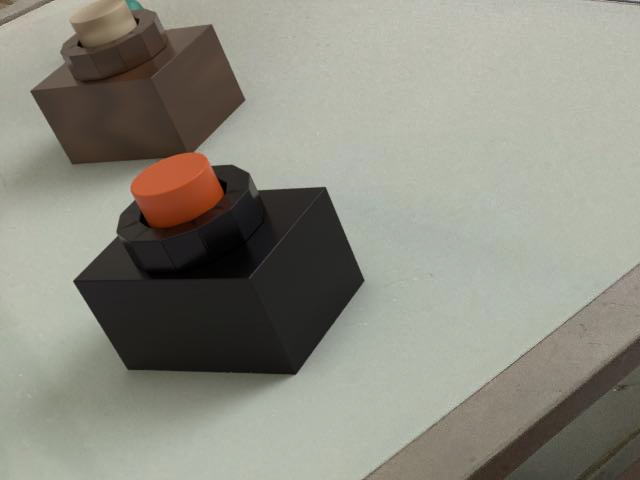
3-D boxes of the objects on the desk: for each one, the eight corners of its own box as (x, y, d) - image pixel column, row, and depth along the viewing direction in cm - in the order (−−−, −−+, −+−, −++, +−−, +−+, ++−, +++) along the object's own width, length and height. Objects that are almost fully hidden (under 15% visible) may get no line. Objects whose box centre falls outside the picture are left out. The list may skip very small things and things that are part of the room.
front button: (133, 232, 57) (113, 197, 55) (176, 188, 59) (158, 154, 58) (197, 230, 55) (179, 194, 54) (239, 185, 58) (222, 149, 56)
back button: (72, 53, 80) (57, 25, 78) (105, 27, 82) (91, -1, 81) (116, 48, 78) (102, 19, 77) (148, 21, 80) (135, -7, 79)
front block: (127, 370, 62) (52, 250, 57) (204, 282, 67) (141, 164, 62) (296, 375, 57) (231, 245, 52) (365, 281, 62) (312, 153, 57)
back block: (71, 165, 85) (15, 66, 80) (131, 110, 90) (81, 14, 84) (189, 157, 80) (137, 51, 75) (246, 100, 85) (200, -3, 80)
